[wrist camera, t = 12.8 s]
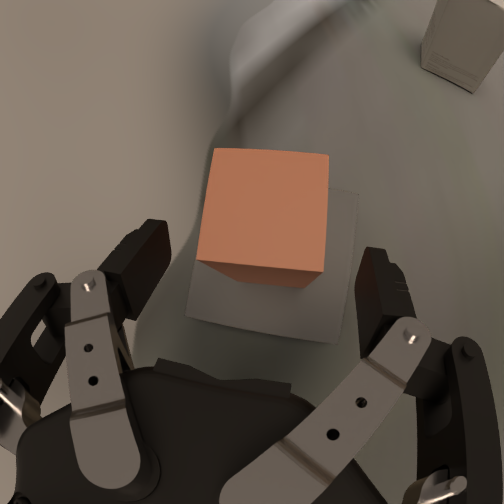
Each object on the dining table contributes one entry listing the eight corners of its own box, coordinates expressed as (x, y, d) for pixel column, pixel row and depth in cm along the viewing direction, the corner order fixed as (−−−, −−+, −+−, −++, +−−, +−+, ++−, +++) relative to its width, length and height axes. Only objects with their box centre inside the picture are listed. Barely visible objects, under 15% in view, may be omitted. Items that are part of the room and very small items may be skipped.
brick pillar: (245, 217, 21) (214, 147, 12) (309, 223, 21) (328, 155, 11) (237, 281, 21) (196, 259, 11) (304, 288, 20) (323, 272, 10)
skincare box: (469, 69, 26) (511, 0, 11) (473, 97, 25) (526, 23, 10) (417, 43, 27) (448, -37, 12) (417, 68, 26) (456, -21, 12)
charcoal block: (224, 190, 26) (214, 172, 22) (348, 209, 25) (358, 193, 21) (199, 314, 25) (184, 316, 21) (329, 337, 23) (337, 344, 19)
